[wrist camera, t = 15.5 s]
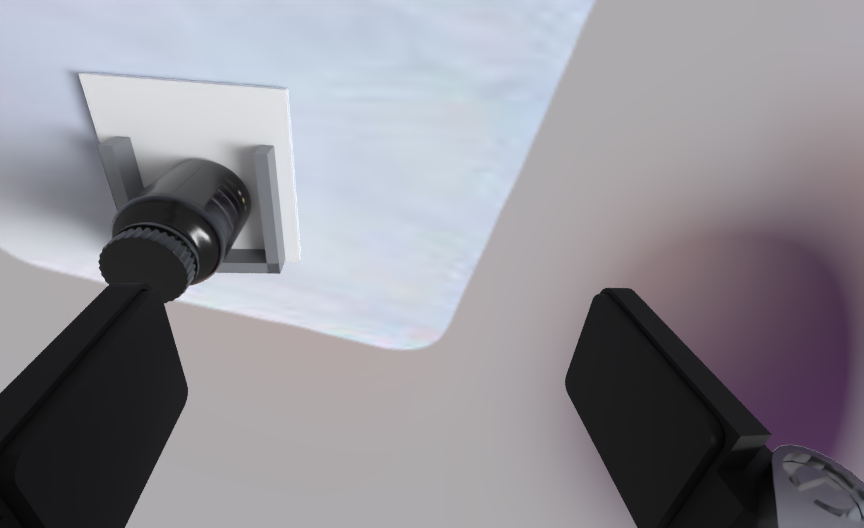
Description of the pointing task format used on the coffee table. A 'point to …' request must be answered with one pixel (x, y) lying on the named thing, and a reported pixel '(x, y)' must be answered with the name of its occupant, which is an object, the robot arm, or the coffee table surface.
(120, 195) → the cradle tray
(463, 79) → the coffee table surface
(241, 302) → the coffee table surface
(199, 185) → the supplement bottle
